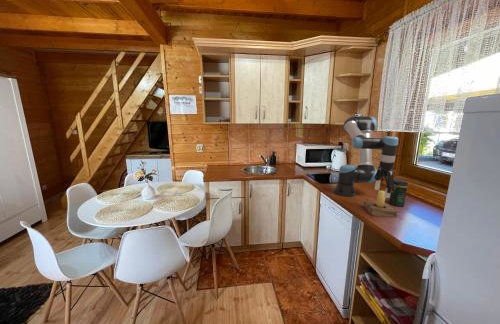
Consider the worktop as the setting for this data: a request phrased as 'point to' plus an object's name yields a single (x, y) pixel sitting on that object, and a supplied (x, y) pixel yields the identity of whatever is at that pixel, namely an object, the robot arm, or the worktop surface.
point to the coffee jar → (398, 192)
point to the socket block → (379, 209)
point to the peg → (380, 199)
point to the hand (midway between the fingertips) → (381, 193)
